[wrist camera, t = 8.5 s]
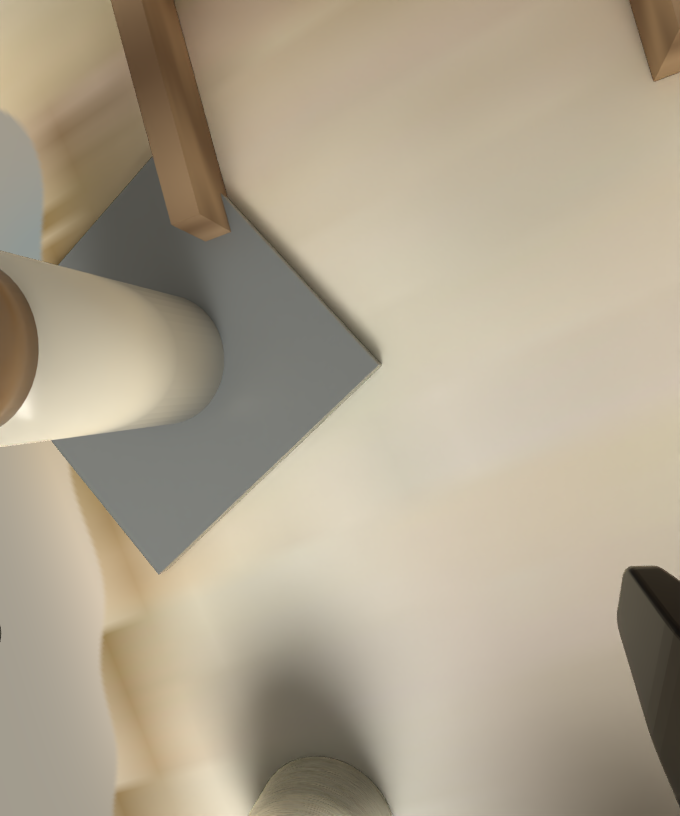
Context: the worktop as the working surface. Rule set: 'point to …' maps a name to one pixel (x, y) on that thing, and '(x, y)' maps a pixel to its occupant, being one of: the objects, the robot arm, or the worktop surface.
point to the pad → (241, 381)
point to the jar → (97, 354)
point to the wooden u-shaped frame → (186, 123)
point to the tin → (320, 791)
